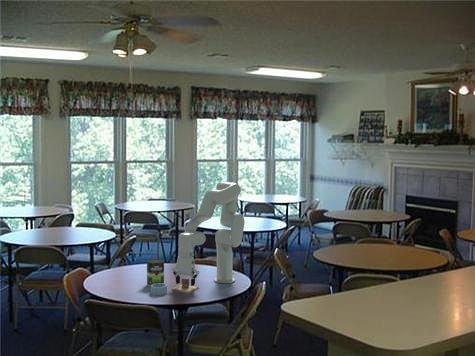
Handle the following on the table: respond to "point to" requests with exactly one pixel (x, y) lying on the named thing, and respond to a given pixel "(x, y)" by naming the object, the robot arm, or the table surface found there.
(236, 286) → the table surface
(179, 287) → the lid
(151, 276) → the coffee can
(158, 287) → the bowl
